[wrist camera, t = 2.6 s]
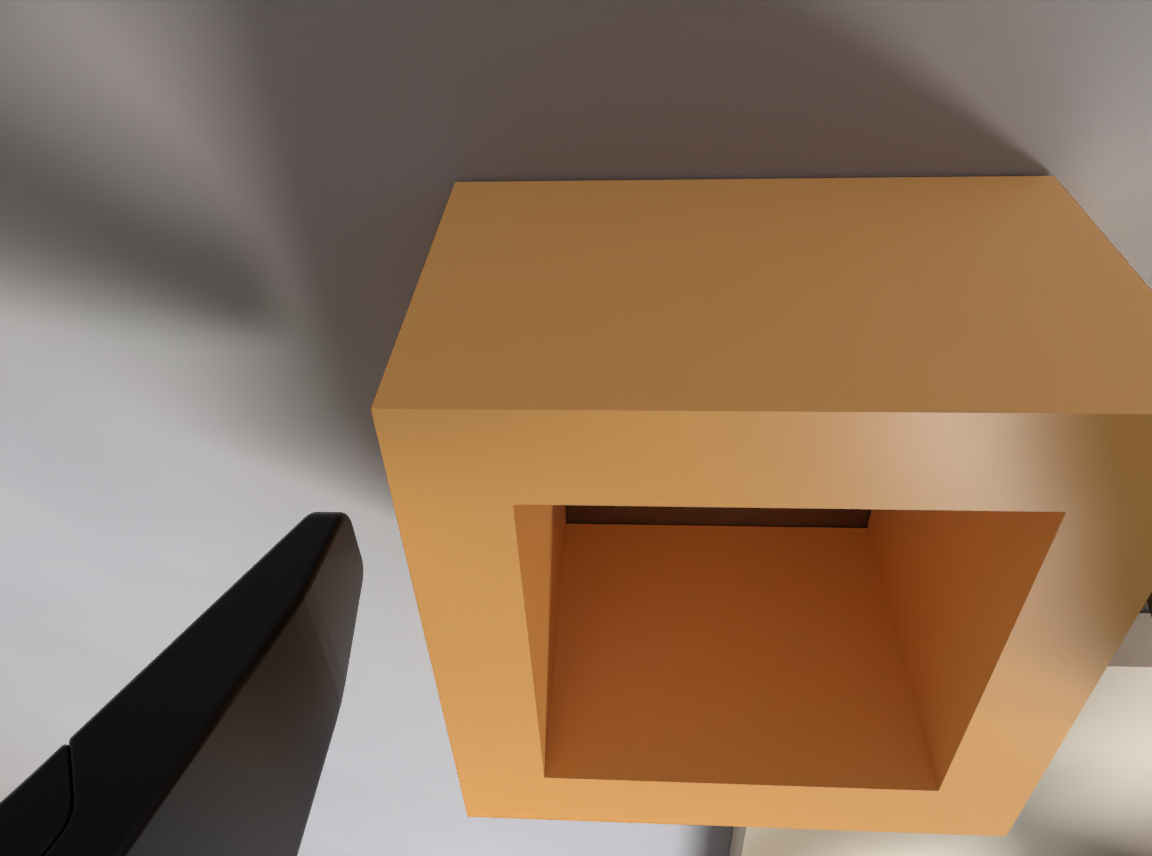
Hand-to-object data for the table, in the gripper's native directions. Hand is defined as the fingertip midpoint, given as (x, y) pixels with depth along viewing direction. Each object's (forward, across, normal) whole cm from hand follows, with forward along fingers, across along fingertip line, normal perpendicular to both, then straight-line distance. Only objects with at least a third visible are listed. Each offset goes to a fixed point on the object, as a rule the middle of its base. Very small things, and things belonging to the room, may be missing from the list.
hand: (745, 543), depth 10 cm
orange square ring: (+2, 0, 0) cm, 2 cm away
